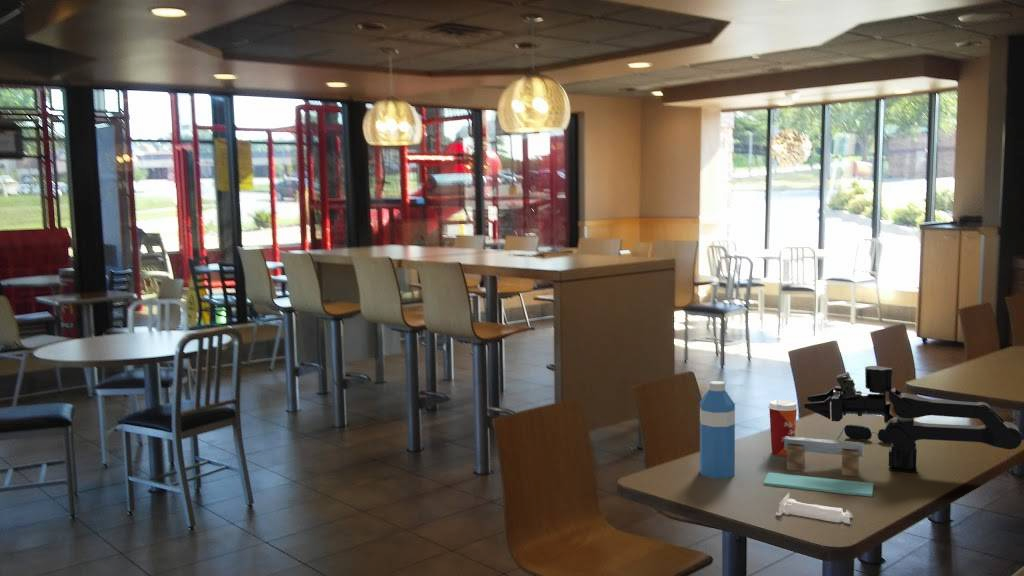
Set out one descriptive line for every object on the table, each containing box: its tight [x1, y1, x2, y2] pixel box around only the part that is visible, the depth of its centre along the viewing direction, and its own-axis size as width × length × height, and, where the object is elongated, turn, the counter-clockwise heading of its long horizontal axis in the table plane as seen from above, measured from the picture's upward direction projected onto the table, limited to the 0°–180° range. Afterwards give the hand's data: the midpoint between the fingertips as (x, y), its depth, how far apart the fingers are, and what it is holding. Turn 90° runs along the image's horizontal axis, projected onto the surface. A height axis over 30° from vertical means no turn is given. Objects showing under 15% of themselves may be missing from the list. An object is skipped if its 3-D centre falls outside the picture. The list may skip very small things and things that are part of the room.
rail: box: [784, 436, 864, 458], centre depth 236 cm, size 20×3×3 cm, turn 66°
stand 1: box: [786, 445, 806, 472], centre depth 239 cm, size 4×6×6 cm, turn 156°
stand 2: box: [841, 450, 860, 477], centre depth 234 cm, size 4×6×6 cm, turn 156°
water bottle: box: [699, 380, 736, 479], centre depth 234 cm, size 9×9×25 cm
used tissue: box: [775, 492, 854, 525], centre depth 202 cm, size 11×18×4 cm, turn 48°
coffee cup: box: [767, 399, 799, 457], centre depth 252 cm, size 8×8×15 cm
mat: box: [763, 472, 874, 497], centre depth 224 cm, size 26×9×1 cm, turn 66°
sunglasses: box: [836, 424, 892, 444], centre depth 256 cm, size 17×15×5 cm
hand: (805, 401), depth 244 cm, fingers open, 9 cm apart
